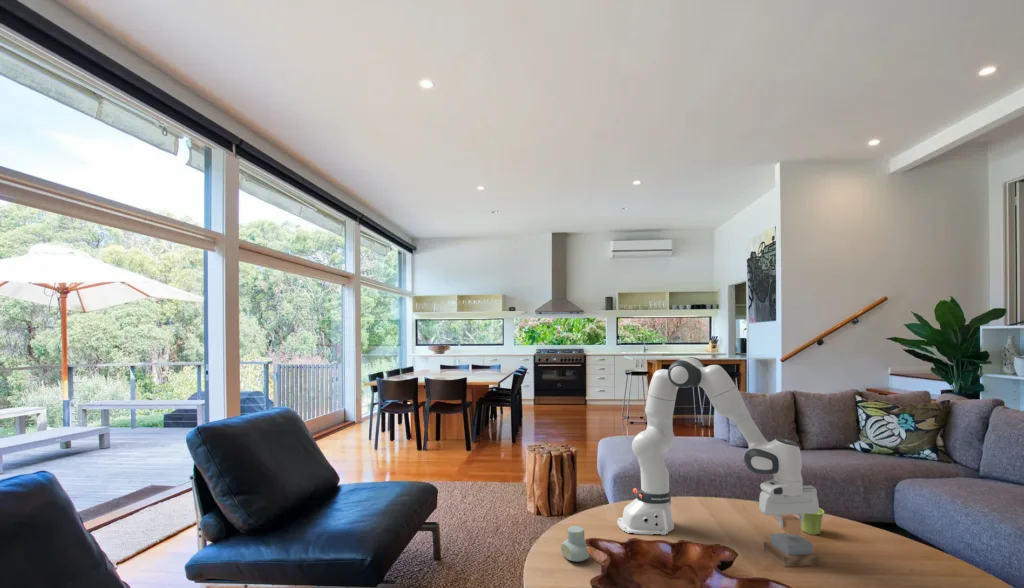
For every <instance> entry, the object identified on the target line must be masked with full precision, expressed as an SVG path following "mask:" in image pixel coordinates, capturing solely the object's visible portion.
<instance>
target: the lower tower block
mask: <svg viewBox="0 0 1024 588" xmlns="http://www.w3.org/2000/svg"><path fill="white" fill-rule="evenodd" d="M763 551H764V552H765V553H766V554H768V555H769V556H770V555H771V556H770V557H772V559H774V558H775V559H776V560H775V559H774V560H775V561H777V563H779V564H781V566H783V567H784V568H786V567H787V568H788V567H800V566H799V565H811V566H819V556H818V554H816V553H814V552H813V554H806V555H793V556H788V555H786V554H785V553H784V552H782V551H781V550H779V549H778V548H776V547H775V546H773V545H772V544H771V541H763Z"/></svg>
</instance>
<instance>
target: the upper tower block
mask: <svg viewBox="0 0 1024 588" xmlns="http://www.w3.org/2000/svg"><path fill="white" fill-rule="evenodd" d="M770 542H771V544H772V545H773V546H775V547H776V548H778V549H779V550H781V551H782V552H784V553H785V554H786V555H788V556H793V555H806V554H813V553H814V552H813V543H812V542H811V541H809V540H807V539H805V538H804V537H802V536H800V535H788V534H786V533H785V532H783V533H782V532H779V533H771V534H770Z"/></svg>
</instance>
